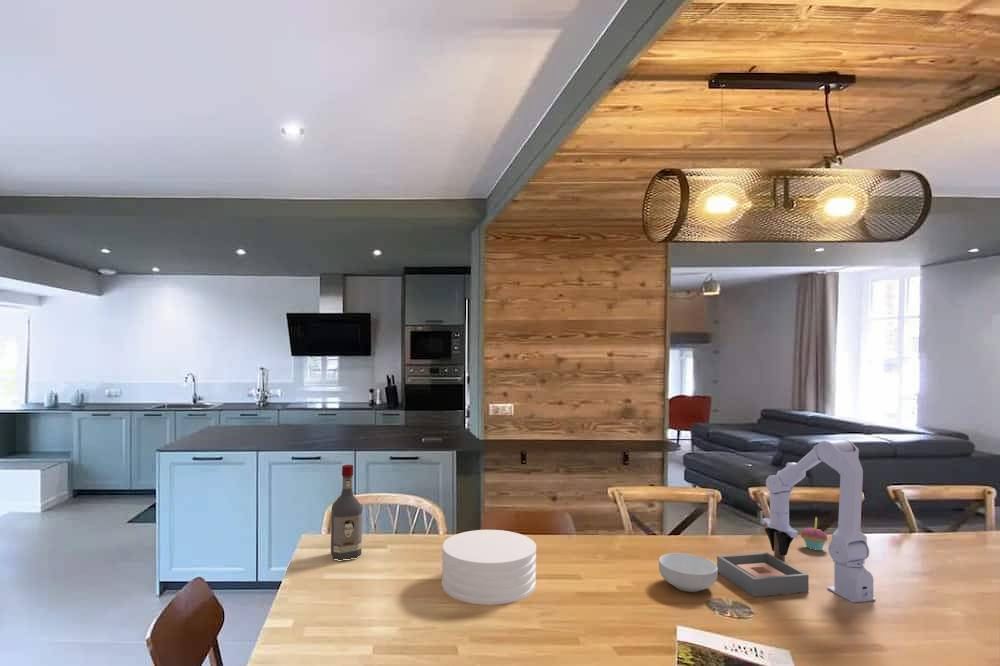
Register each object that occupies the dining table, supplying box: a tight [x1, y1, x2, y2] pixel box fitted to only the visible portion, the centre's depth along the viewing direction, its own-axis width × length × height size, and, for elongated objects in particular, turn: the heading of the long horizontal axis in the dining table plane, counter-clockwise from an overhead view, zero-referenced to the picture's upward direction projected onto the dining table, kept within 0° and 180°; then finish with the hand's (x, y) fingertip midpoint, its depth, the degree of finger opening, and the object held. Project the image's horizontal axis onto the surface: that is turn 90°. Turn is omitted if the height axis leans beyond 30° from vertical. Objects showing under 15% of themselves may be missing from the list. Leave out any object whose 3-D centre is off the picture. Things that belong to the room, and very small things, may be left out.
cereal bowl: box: [658, 552, 719, 593], centre depth 166 cm, size 17×17×7 cm
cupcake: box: [799, 516, 828, 551], centre depth 199 cm, size 9×8×12 cm
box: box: [716, 552, 810, 598], centre depth 170 cm, size 18×18×5 cm
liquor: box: [330, 464, 363, 560], centre depth 187 cm, size 9×9×30 cm
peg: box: [773, 531, 786, 562], centre depth 185 cm, size 3×3×10 cm
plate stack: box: [441, 529, 537, 606], centre depth 167 cm, size 28×28×12 cm
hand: (779, 552), depth 185 cm, fingers closed on peg, 3 cm apart
